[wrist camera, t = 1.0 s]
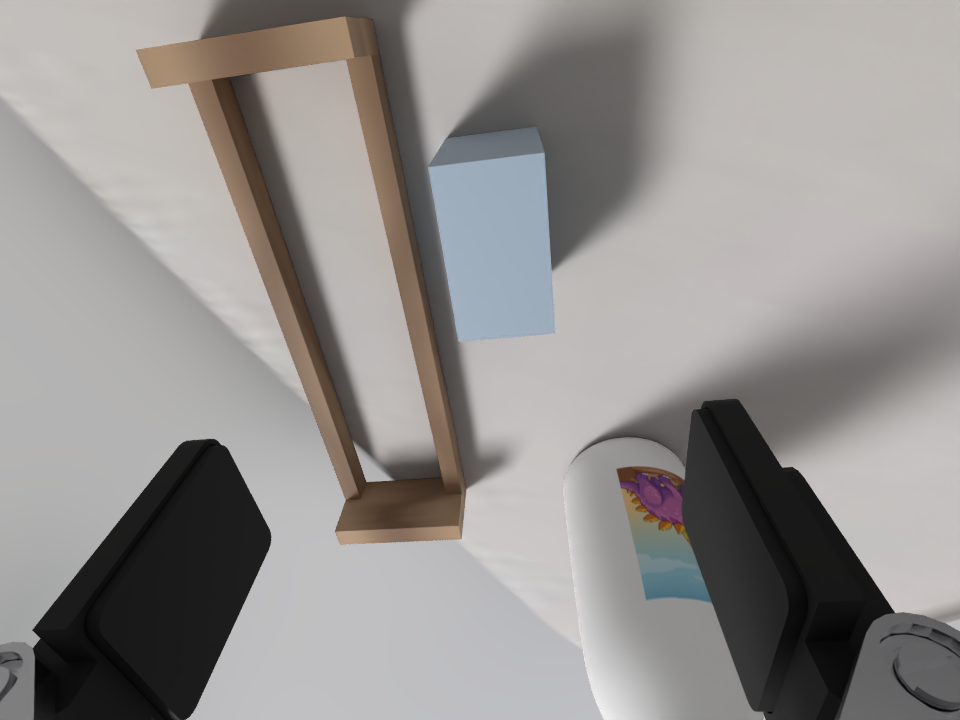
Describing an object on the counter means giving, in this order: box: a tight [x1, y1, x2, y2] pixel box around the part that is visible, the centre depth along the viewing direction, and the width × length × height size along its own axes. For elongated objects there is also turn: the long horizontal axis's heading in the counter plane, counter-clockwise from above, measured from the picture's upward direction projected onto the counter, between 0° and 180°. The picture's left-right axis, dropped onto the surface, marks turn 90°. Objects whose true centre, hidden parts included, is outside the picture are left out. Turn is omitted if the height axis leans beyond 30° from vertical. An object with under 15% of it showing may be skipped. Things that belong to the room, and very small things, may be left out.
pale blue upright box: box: [428, 126, 555, 342], centre depth 22 cm, size 4×7×6 cm, turn 7°
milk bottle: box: [563, 437, 764, 720], centre depth 25 cm, size 8×8×20 cm
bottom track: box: [136, 16, 466, 545], centre depth 26 cm, size 8×26×4 cm, turn 7°
